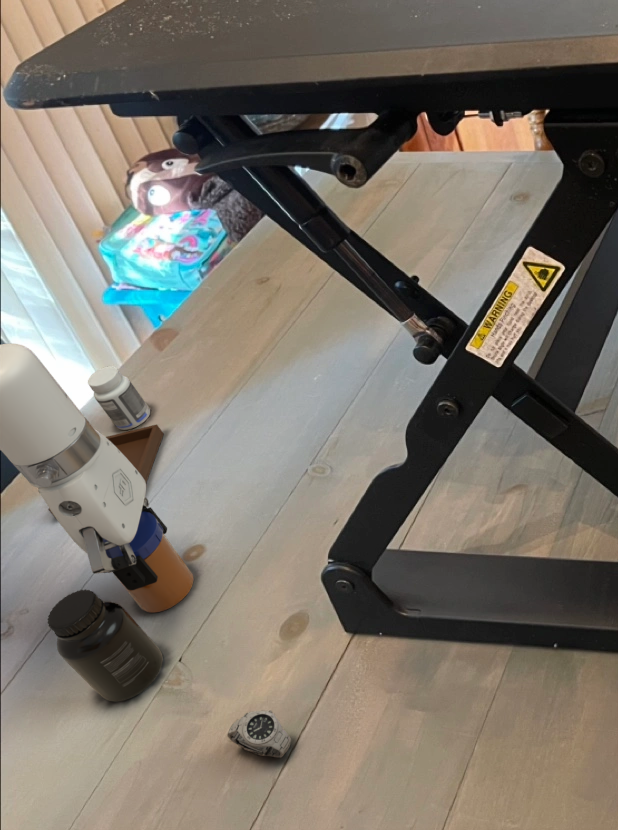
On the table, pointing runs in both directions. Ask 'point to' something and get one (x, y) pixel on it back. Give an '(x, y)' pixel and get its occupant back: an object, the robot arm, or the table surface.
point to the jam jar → (164, 580)
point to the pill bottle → (118, 398)
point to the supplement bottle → (104, 645)
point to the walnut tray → (139, 447)
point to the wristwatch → (260, 734)
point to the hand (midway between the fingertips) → (148, 558)
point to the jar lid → (143, 537)
